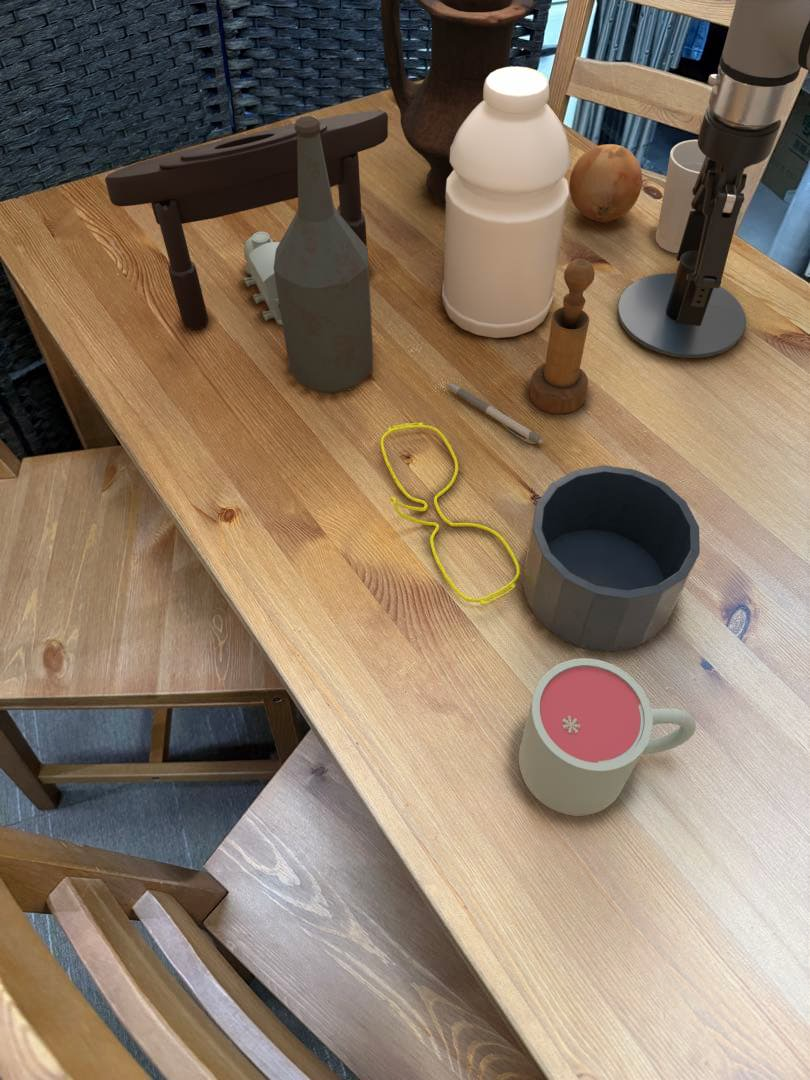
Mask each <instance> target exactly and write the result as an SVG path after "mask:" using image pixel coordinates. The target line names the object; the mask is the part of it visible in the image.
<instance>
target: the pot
mask: <svg viewBox="0 0 810 1080" xmlns="http://www.w3.org/2000/svg"><path fill="white" fill-rule="evenodd" d="M530 528H531V530H530V534H529V540H528V545H527V551H526V555H525V561H524V569H523V577H522V586H523V592H524V596H525V599H526V602H527V605H528V606H529V608H530V610H531V612H532V613H533V615H534V616H535V617H536V619H537V620H538V621H539V623H541V625H543V627H545V628H546V630H548V631H549V632H550V633H552V634H553V635H554V636H556V637H557V638H559V639H561V641H562V640H563V641H564V642H566V643H568V644H570V645H573V646H575V647H579V648H582V649H586V650H591V651H595V652H597V651H598V652H619V651H625V650H629V649H632V648H635V647H638V646H640V645H643V644H644V643H646V642H648V641H649V640H651V639H653V638H654V637H655V636H657V634H658V633H660V631H662V630H663V629H664V627H665V625H666V624H667V622H668V621H669V618H670V616H671V615H672V613H673V611H674V609H675V607H676V605H677V603H678V600H680V599H679V598H680V596H681V594H682V592H683V590H684V588H685V585H686V583H687V582H688V579H689V577H690V575H691V573H692V571H693V569H694V566H695V565H696V563H697V560H698V558H699V556H700V553H701V546H700V542H701V541H700V526H699V524H698V522H697V520H696V518H695V516H694V514H693V512H692V511H691V508H690V507H689V505H688V503H687V501H686V500H685V499H684V498H682V496H680V495H679V494H678V493H677V492H675V491H674V489H672V488H671V487H670V486H669V485H667V483H665V482H664V481H662V480H660V479H657V478H656V477H653V476H651V475H648V474H646V473H644V472H642V471H639V470H637V469H635V468H628V467H627V468H626V467H619V466H611V465H606V464H605V465H603V464H602V465H598V466H592V467H591V466H590V467H584V468H579V469H575V470H572V471H571V472H569V473H566V475H563V476H562V477H560V478H558V479H557V480H555V481H553V482H551V483H550V484H549V485H548V487H547V488H546V489H545V491H544V492H543V494H542V495H541V497H540V498H539V500H538V501H537V502H536V504H535V507H534V513H533V518H532V523H531V527H530Z"/></svg>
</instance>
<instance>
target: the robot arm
mask: <svg viewBox="0 0 810 1080" xmlns="http://www.w3.org/2000/svg"><path fill="white" fill-rule="evenodd" d="M801 68H802V69H804V70H806V71H810V0H735V3H734V8H733V11H732V15H731V19H730V23H729V27H728V31H727V34H726V38H725V42H724V46H723V50H722V52H721V55H720V58H719V63H718V67H717V73H712V74H709V76H708V80H707V83H708V85H710V86H712V89H711V92H710V96H709V99H708V106H707V108H706V109H705V111H704V115H703V118H702V122H701V125H700V129H699V133H698V136H697V140H698V146H699V149H700V150H701V152H702V153H703V154H704V155H705V156H706V157H705V160H704V162H703V165H702V168H701V170H700V173H699V175H698V178H697V181H696V183H695V186H694V188H693V190H692V192H693V195H695V197H694V199H693V201H692V203H691V205H692V209H695V210H694V211H690V214H689V217H688V221H687V224H686V228H685V231H684V234H683V238H682V241H681V245H680V248H679V252H678V253H677V255H676V262H679V261H680V258H681V256H682V254H684V253H685V252H687V251H693V250H696V251H699V252H698V257H697V262H696V267H695V272H694V273H691V275H689V274H687V277H686V280H689V282H688V286H687V289H686V292H685V295H684V298H683V302H682V305H681V308H680V311H679V314H678V318H677V323H678V324H687V325H696V326H701V323H702V320H703V317H704V314H705V311H706V309H707V306H708V303H709V300H710V297H711V294H712V291H713V288H719V287H720V286H721V285H722V278H723V275H724V272H725V268H726V263H727V259H728V256H729V252H730V248H731V245H732V241H733V236H734V232H735V228H736V225H737V221H738V217H739V214H740V211H741V209H742V206H743V203H744V202H745V193H743V190H745V188H746V183H747V177H748V174H747V173H744V171H745V169H747V168H749V167H751V166H754V165H758V164H760V163H762V162H764V161H765V160H766V159H768V157H769V156H770V155H771V153H772V150H773V148H774V145H775V142H776V139H777V136H778V133H779V131H780V128H781V124H782V120H781V119H782V118H783V117H785V116H786V113H787V110H788V107H789V104H790V101H791V99H792V96H793V93H794V90H795V87H796V84H797V81H798V80H799V79H798V78H799V75H800V72H801Z"/></svg>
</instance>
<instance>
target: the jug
mask: <svg viewBox="0 0 810 1080" xmlns="http://www.w3.org/2000/svg"><path fill="white" fill-rule="evenodd" d="M413 1H414V2H415V3H416V5H418V6H419V7H420V8H421V9H422V10H423V11H425V12H426V13H427V14H428V15H429V18H430V21H431V24H430V25H431V26H430V27H431V39H430V64H429V68H428V72H427V74H426V76H425V77H424V79H423V80H422V82H419V83H416V82H414V81H412V80H411V79H410V78H409V77H408V76H407V73H406V70H405V59H404V48H403V36H402V32H401V22H400V21H401V19H400V18H401V17H400V0H380V20H381V33H382V45H383V46H382V47H383V54H384V60H385V66H386V72H387V77H388V81H389V85H390V89H391V91H392V94H393V97H394V101H395V103H396V105H397V107H398V110H399V113H400V127H401V129H402V133H403V136H404V137H405V139H406V141H407V143H408V144H409V145H410V147H411V148H412V149H414V151H415V152H416V153H417V154H419V155H420V156H421V157H422V158H423V159H424V160H425V161H426V162H427V163H428V165H429V166H430V169H429V171H428V173H427V174H426V177H425V187H426V190H427V192H428V195H427V196H429V195H430V196H431V197H432V198H434V200H435V201H436V202H437V203H439V204H441V205H444V206H446V197H445V196H446V182H447V178H448V177H449V175H450V174H451V173H452V171H453V170H454V169H453V167H452V165H451V164H450V147H451V145H452V143H453V141H454V138H455V136H456V134H457V132H458V130H459V128H460V127H461V125H462V124H463V122H464V121H465V120H466V119H467V117H468V116H469V115H470V113H471V112H472V111H473V110H474V109H475V108H476V106H478V105H479V104H480V103H481V102H482V101H483V100H484V99H483V89H484V83H485V80H486V78H487V77H488V76H489V75H490V73H492V72H494V71H495V70H497V69H501V68H505V67H510V63H511V62H510V55H511V48H512V39H513V34H514V29H515V24H516V22H519V21H522V20H524V19H525V18H526V17H528V16H529V15H530V14H531V13H532V12H533V10H535V9H536V7H537V5H538V3H539V0H413Z"/></svg>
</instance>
